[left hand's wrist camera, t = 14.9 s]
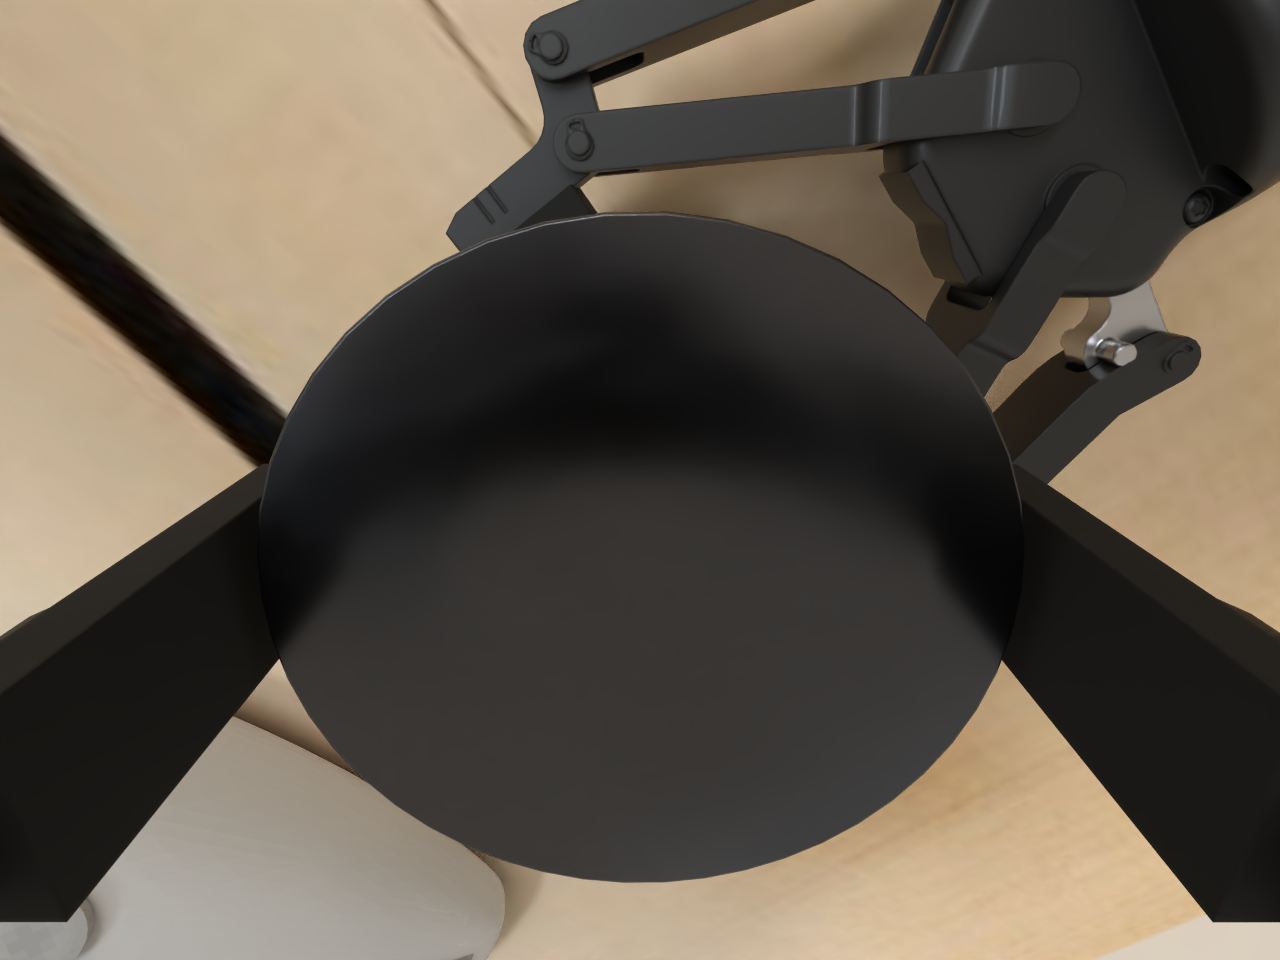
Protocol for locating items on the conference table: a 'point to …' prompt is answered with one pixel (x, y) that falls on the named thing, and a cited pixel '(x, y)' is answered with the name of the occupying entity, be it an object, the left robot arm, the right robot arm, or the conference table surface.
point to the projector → (277, 873)
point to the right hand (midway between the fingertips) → (523, 507)
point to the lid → (640, 547)
